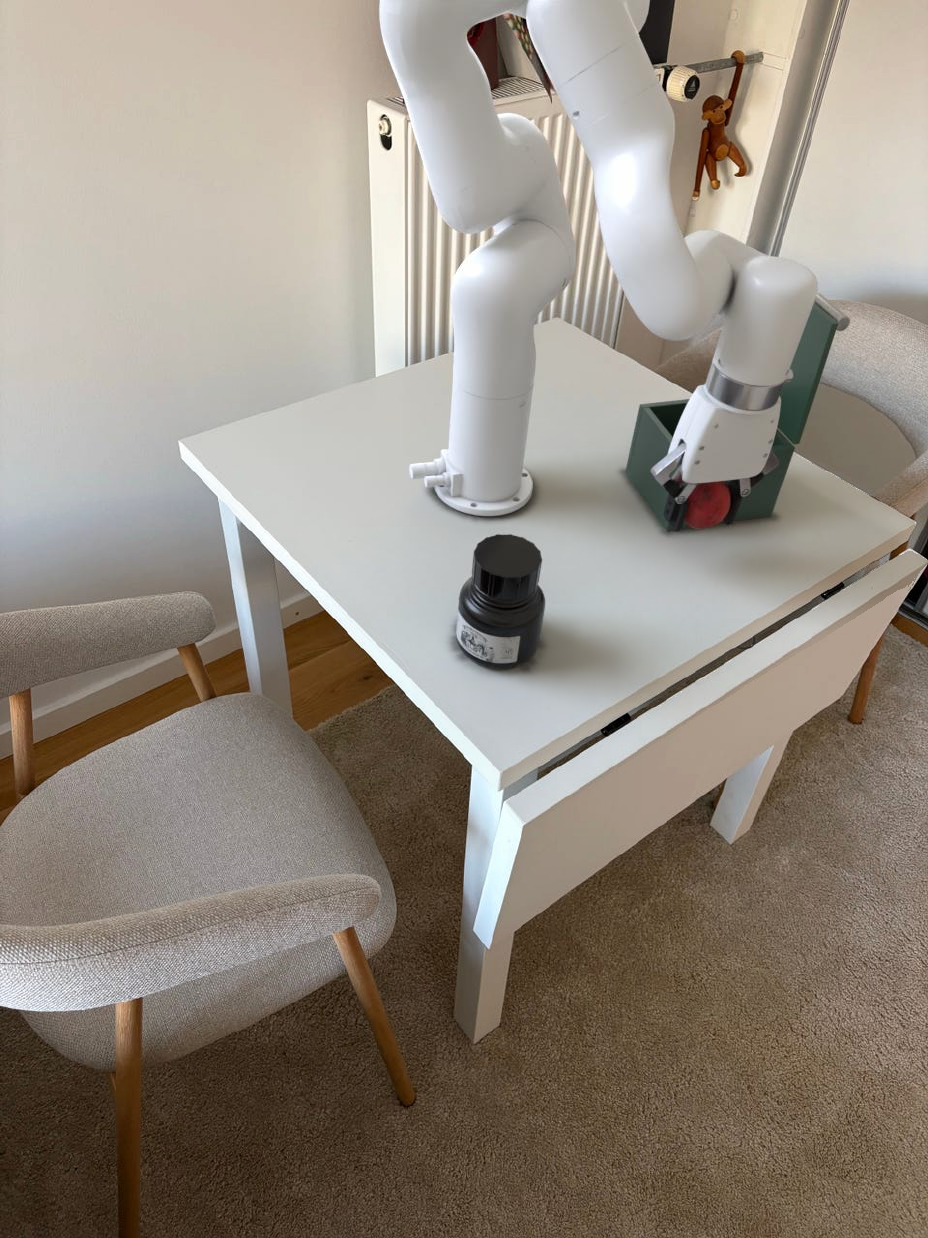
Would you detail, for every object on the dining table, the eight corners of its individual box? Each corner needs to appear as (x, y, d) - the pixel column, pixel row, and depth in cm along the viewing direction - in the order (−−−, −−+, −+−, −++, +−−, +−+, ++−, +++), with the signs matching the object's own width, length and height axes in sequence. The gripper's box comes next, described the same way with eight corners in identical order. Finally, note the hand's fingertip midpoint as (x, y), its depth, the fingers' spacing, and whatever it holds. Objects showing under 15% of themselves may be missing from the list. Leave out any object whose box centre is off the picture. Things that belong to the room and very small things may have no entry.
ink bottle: (436, 636, 106) (441, 549, 98) (493, 600, 110) (503, 514, 102) (501, 686, 101) (512, 599, 93) (558, 646, 106) (574, 561, 98)
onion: (708, 550, 111) (729, 493, 106) (662, 529, 113) (680, 473, 108) (727, 525, 115) (747, 469, 109) (682, 505, 117) (700, 449, 111)
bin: (666, 531, 122) (684, 461, 115) (624, 472, 131) (639, 403, 123) (771, 516, 126) (795, 447, 118) (723, 460, 134) (743, 392, 127)
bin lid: (832, 323, 107) (873, 319, 108) (773, 273, 116) (811, 269, 117) (793, 444, 118) (831, 439, 119) (742, 389, 127) (777, 385, 128)
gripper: (797, 358, 106) (747, 493, 118) (653, 369, 101) (616, 508, 114) (835, 396, 101) (778, 532, 113) (685, 409, 96) (643, 550, 109)
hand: (698, 519), depth 113 cm, fingers closed on onion, 6 cm apart
